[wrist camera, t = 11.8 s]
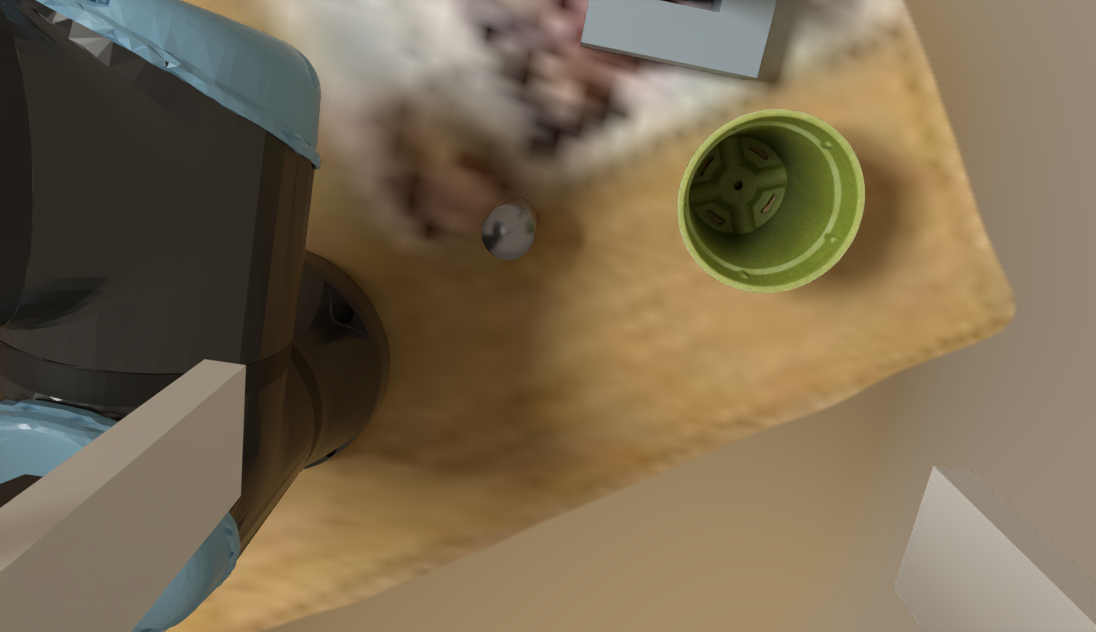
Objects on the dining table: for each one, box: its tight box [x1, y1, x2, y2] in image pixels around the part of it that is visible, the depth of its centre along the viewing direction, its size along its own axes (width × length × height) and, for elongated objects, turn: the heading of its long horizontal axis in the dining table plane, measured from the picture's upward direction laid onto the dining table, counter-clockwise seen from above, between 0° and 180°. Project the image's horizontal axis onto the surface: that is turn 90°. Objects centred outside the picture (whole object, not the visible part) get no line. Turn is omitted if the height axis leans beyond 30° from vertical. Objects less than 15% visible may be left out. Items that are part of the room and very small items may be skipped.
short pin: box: [482, 197, 538, 260], centre depth 45 cm, size 3×3×5 cm
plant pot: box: [677, 109, 865, 293], centre depth 42 cm, size 9×9×9 cm
